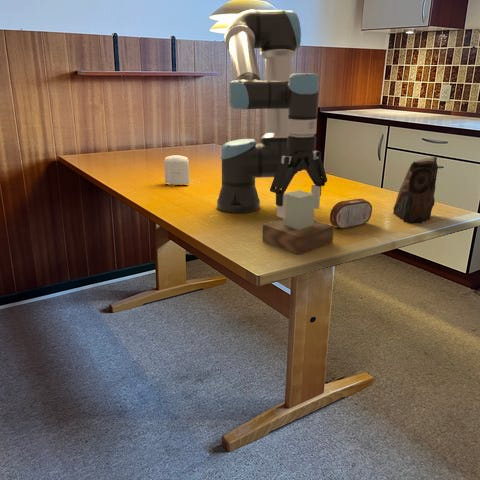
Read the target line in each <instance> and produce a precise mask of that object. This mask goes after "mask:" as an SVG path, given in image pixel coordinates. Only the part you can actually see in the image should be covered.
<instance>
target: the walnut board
mask: <svg viewBox="0 0 480 480" xmlns="http://www.w3.org/2000/svg"><path fill="white" fill-rule="evenodd" d="M334 228H335V226H333V225H332V224H328V223H324V222H321V221H318V220H316V219H314V221H313V226H310V227H307V228H303V229H300V230H297V229H294V228H291V227H288V226H285V225H283V218H280V219H277V220H273V221H270V222H266V223H263V224H262V242H265V243H267V244H269V245H272V246H274V247H278V248H280V249H283V250H285V251H287V252H290V253H293V254H296V255H301V254H304V253H307V252H310V251H312V250H315V249H319V248H321V247H324V246H327V245H329V244H333V239H334Z"/></svg>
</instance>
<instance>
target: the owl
mask: <svg viewBox="0 0 480 480" xmlns="http://www.w3.org/2000/svg"><path fill="white" fill-rule="evenodd" d="M437 159H438V157H437V156H433V157H428V158H427V157H426V158H423V159H418V160H416V161H413V162H412V163H411V164H410V166H409V168H408V170H407V171H406V175H405V177H404V180H403V182H402V184H401V186H400V189H399V190H398V194H397V197H396V201H395V203H394V206H393V212H392V214H393V215H395V216H396V217H397V218H399V219H400V220H401V221H402V222H403V223H406V224H411V225H413V224H414V225H415V224H417V225H418V224H423V222H427V221H430V220H431V215H432V211H433V207H434V206H435V204H436V203H435V200H436V199H435V192H436V182H437V181H436V180H437V177H438V176H437V175H438V170H439V166H438V163H437Z"/></svg>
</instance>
